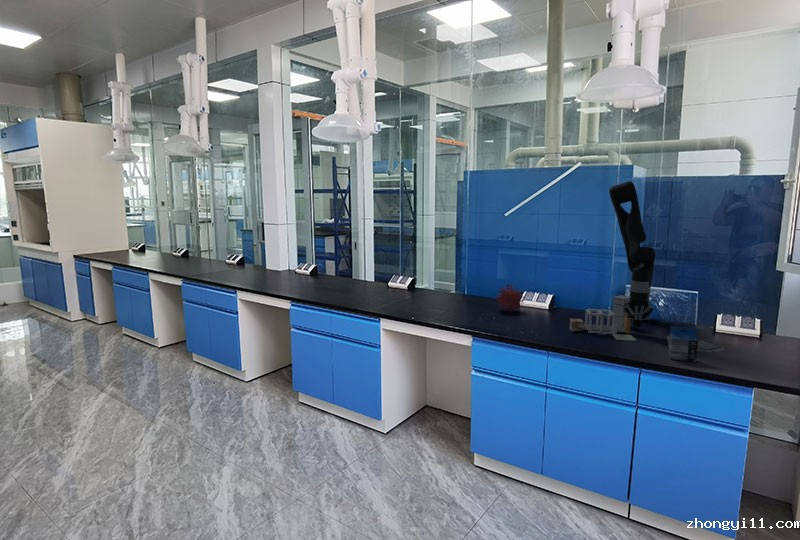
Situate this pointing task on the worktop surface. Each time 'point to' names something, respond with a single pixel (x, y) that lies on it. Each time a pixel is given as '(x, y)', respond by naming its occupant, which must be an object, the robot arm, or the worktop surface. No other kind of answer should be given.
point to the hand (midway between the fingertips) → (636, 327)
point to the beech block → (576, 325)
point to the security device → (702, 345)
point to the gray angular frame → (599, 313)
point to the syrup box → (620, 309)
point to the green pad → (624, 337)
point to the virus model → (510, 298)
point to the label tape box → (683, 344)
